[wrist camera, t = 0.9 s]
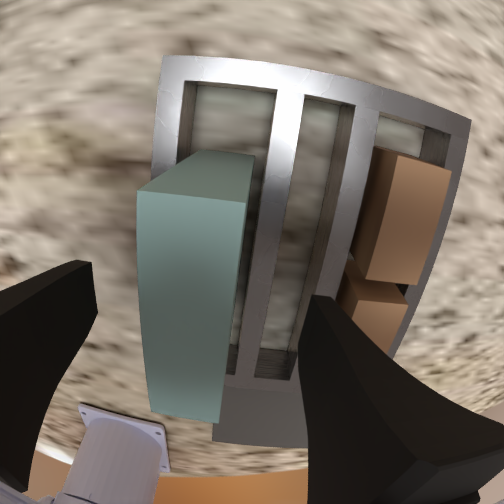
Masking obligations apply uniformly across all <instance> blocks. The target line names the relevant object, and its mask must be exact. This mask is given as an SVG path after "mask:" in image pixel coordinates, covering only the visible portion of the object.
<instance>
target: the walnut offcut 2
mask: <svg viewBox="0 0 504 504" xmlns="http://www.w3.org/2000/svg"><path fill="white" fill-rule="evenodd" d="M335 302H336V303H337V304H338V305H339V306H340V307H341V308H342V309H343V310H344V311H345V312H346V314H347V315H348V316H349V317H350V318H351V319H352V320H353V321H354V322H355V323H356V325H357V326H358V327H359V328H360V329H361V330H362V331H363V332H364V333H365V334H366V335H367V336H368V337H369V338H370V339H371V340H372V341H373V342H374V343H375V344H376V345H377V346H378V347H379V348H380V349H381V350H382V351H383V352H384V353H385V354H387V352H388V350H389V348H390V346H391V344H392V342H393V340H394V338H395V335H396V333H397V331H398V329H399V327H400V324H401V322H402V320H403V317H404V315H405V313H406V310H407V308H408V306H409V304H408V303H407V301H406V300H405V298H404V297H403V295H402V294H401V292H400V291H399V289H398V288H397V286H396V285H395V283H393V282H385V281H376V280H368V279H365V278H364V276H363V274H362V272H361V270H360V269H359V267H358V265H357V263H356V262H355V261H352V260H347V261H346V264H345V268H344V271H343V275H342V278H341V282H340V285H339V289H338V292H337V295H336V299H335Z"/></svg>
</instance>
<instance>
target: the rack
mask: <svg viewBox="0 0 504 504" xmlns="http://www.w3.org/2000/svg"><path fill="white" fill-rule="evenodd" d="M197 85H199V86H213V87H225V88H235V89H244V90H253V91H261V92H268V93H275V98H274V105H273V112H272V119H271V126H270V132H269V139H268V146H267V153H266V159H265V166H264V173H263V180H262V187H261V193H260V200H259V207H258V214H257V221H256V227H255V234H254V241H253V248H252V254H251V261H250V268H249V275H248V282H247V288H246V295H245V302H244V309H243V316H242V322H241V329H240V336H239V343H238V346H236V345H229V350H228V358H227V365H226V372H225V380H224V386H230V387H238V388H246V389H256V390H266V391H277V392H291V393H302V392H301V386H300V379H299V372H298V341H299V338H300V334H301V331H302V327H303V324H304V320H305V317H306V313H307V309H308V306H309V302H310V298H311V294H314V295H323V296H330V297H331V298H332V299H333V300H334V301H335V299H336V295H337V292H338V289H339V285H340V282H341V278H342V275H343V271H344V268H345V264H346V261H347V257H348V254H349V250H350V246H351V242H352V239H353V235H354V231H355V227H356V223H357V219H358V215H359V211H360V207H361V202H362V198H363V194H364V189H365V185H366V180H367V176H368V171H369V166H370V161H371V156H372V151H373V146H374V141H375V136H376V130H377V125H378V119H379V116H383V117H387V118H390V119H394V120H397V121H400V122H404V123H407V124H410V125H413V126H416V127H419V128H422V129H425V133H424V138H423V144H422V149H421V154H420V158H419V159H422V160H425V161H427V162H430V163H433V164H435V165H438V166H440V167H443V168H445V169H448V170H450V171H452V173H451V177H450V181H449V185H448V189H447V193H446V197H445V200H444V204H443V208H442V211H441V215H440V218H439V221H438V225H437V228H436V231H435V234H434V238H433V241H432V244H431V247H430V250H429V253H428V255H427V258H426V261H425V264H424V267H423V270H422V272H421V275H420V278H419V280H418V283H417V285H410V284H401V283H395V285H396V286H397V288H398V289H399V291H400V292H401V294H402V295H403V297H404V298H405V300H406V301H407V303H408V304H409V306H408V308H407V310H406V313H405V315H404V317H403V320H402V322H401V324H400V327H399V329H398V331H397V333H396V335H395V338H394V340H393V342H392V344H391V346H390V348H389V350H388V352H387V355H388V356H389V357H390V358H391V359H393V357H394V355H395V353H396V351H397V349H398V347H399V345H400V343H401V341H402V339H403V337H404V335H405V333H406V331H407V328H408V326H409V324H410V322H411V320H412V317H413V315H414V313H415V311H416V308H417V306H418V304H419V301H420V299H421V296H422V294H423V291H424V289H425V286H426V284H427V281H428V279H429V276H430V273H431V271H432V268H433V265H434V263H435V260H436V257H437V254H438V251H439V248H440V245H441V243H442V239H443V236H444V233H445V230H446V227H447V224H448V220H449V217H450V214H451V210H452V207H453V203H454V199H455V196H456V192H457V188H458V184H459V180H460V176H461V172H462V167H463V163H464V158H465V153H466V148H467V143H468V138H469V132H470V127H471V119H468V118H466V117H464V116H461V115H459V114H457V113H454V112H452V111H449V110H447V109H444V108H442V107H439V106H437V105H434V104H432V103H429V102H426V101H423V100H421V99H418V98H415V97H412V96H409V95H406V94H403V93H400V92H397V91H394V90H391V89H387V88H384V87H381V86H377V85H374V84H370V83H366V82H363V81H359V80H355V79H351V78H347V77H343V76H339V75H334V74H330V73H325V72H320V71H316V70H310V69H305V68H300V67H294V66H288V65H282V64H275V63H268V62H260V61H252V60H243V59H233V58H221V57H205V56H176V55H163V57H162V64H161V72H160V79H159V87H158V96H157V105H156V114H155V125H154V136H153V150H152V165H151V181H152V180H153V179H155V178H156V177H158V176H159V175H161V174H162V173H164V172H165V171H167V170H169V169H170V168H172V167H173V166H175V165H176V164H178V163H180V162H181V161H183V160H184V159H186V158H188V157H189V155H190V145H191V135H192V125H193V117H194V108H195V100H196V92H197ZM304 98H305V99H310V100H315V101H320V102H325V103H330V104H335V105H339V106H341V107H340V113H339V119H338V125H337V131H336V137H335V142H334V148H333V154H332V159H331V164H330V170H329V175H328V180H327V185H326V190H325V195H324V200H323V205H322V210H321V214H320V219H319V224H318V228H317V233H316V237H315V242H314V246H313V251H312V255H311V259H310V264H309V268H308V272H307V276H306V281H305V285H304V289H303V293H302V297H301V301H300V305H299V309H298V313H297V317H296V320H295V324H294V328H293V332H292V336H291V339H290V343H289V347H288V350H287V351H279V350H270V349H261V348H260V343H261V338H262V333H263V328H264V323H265V318H266V313H267V308H268V303H269V297H270V292H271V287H272V282H273V277H274V271H275V266H276V260H277V255H278V250H279V244H280V239H281V233H282V228H283V222H284V216H285V211H286V205H287V199H288V193H289V188H290V182H291V176H292V170H293V164H294V158H295V152H296V146H297V140H298V133H299V127H300V121H301V114H302V108H303V102H304Z"/></svg>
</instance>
